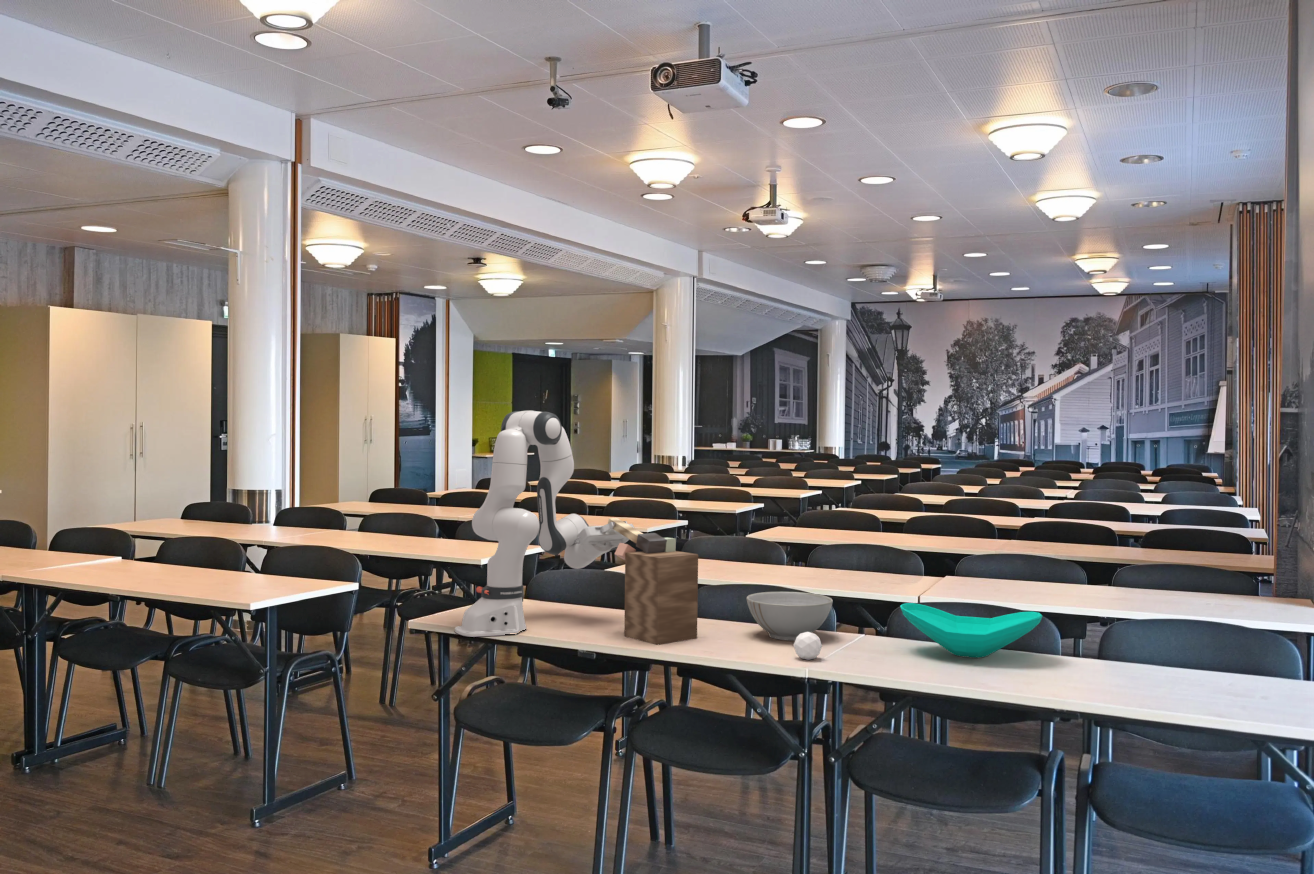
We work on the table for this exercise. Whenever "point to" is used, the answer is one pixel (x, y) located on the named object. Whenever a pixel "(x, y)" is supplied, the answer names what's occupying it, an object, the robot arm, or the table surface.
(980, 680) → the table surface
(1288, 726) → the table surface
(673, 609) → the pedestal
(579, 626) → the table surface
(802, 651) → the geometric ball
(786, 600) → the decorative bowl
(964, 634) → the table top decor
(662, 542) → the mallet
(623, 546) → the terracotta block
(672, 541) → the sage block
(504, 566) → the robot arm
